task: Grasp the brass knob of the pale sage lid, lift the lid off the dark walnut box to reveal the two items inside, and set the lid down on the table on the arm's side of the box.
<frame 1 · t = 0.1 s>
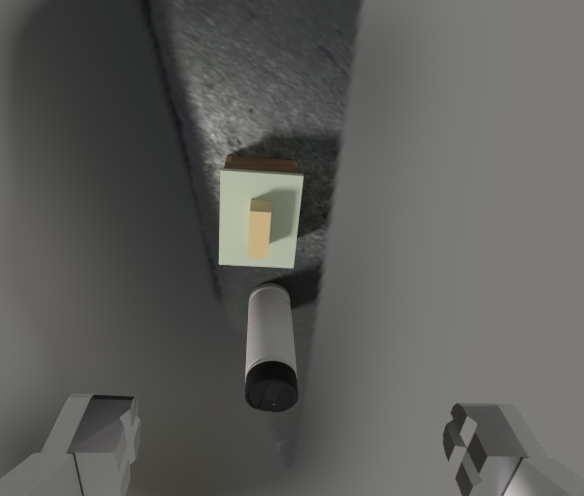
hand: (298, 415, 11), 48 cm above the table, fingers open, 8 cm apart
walnut box: (259, 200, 60), on the table
travel mug: (269, 297, 68), on the table
lid: (259, 219, 55), point 6 cm above the table, touching walnut box
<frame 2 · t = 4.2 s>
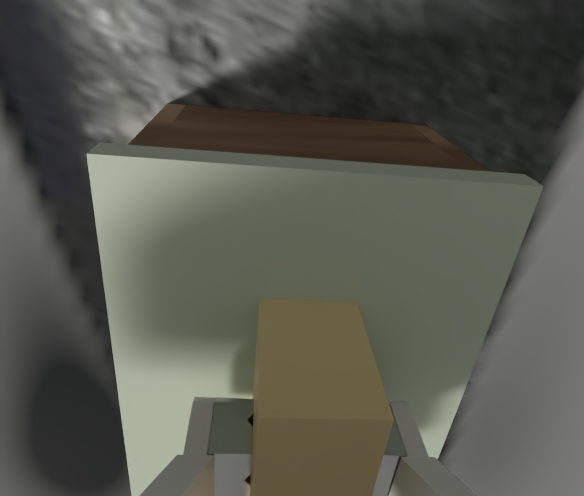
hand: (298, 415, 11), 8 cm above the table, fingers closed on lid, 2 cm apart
walnut box: (285, 263, 18), on the table
lid: (294, 368, 13), point 6 cm above the table, touching gripper, walnut box
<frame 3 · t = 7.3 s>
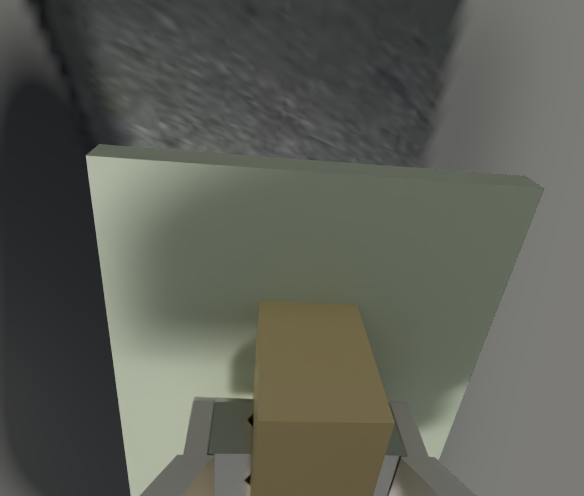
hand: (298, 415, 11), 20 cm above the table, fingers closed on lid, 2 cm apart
lid: (294, 370, 13), point 19 cm above the table, touching gripper
when the fingers open (4 cm above the table, at t = 10.6 s): lid drops 2 cm, on the table.
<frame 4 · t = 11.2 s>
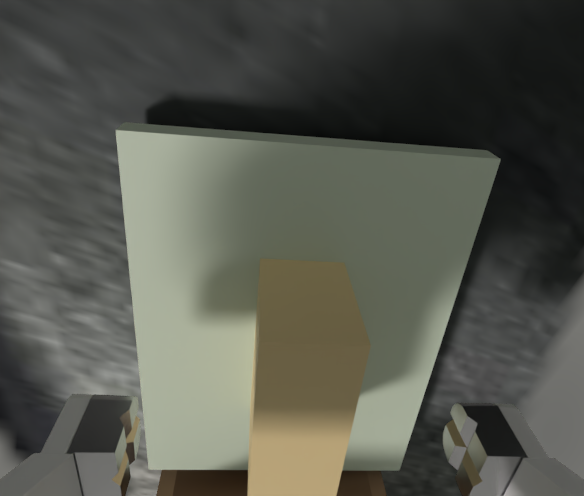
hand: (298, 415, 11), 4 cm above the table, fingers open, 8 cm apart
lid: (291, 326, 15), on the table
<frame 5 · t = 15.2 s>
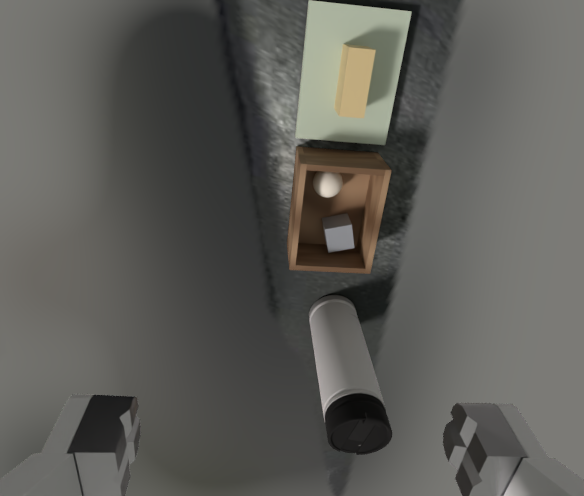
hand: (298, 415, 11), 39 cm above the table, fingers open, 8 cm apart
walnut box: (330, 200, 51), on the table
slate cube: (336, 227, 52), point 1 cm above the table, touching walnut box
travel mug: (332, 311, 59), on the table
lid: (348, 77, 44), on the table
cream ball: (325, 177, 49), point 1 cm above the table, touching walnut box
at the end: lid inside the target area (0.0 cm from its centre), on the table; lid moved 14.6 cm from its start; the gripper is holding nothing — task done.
